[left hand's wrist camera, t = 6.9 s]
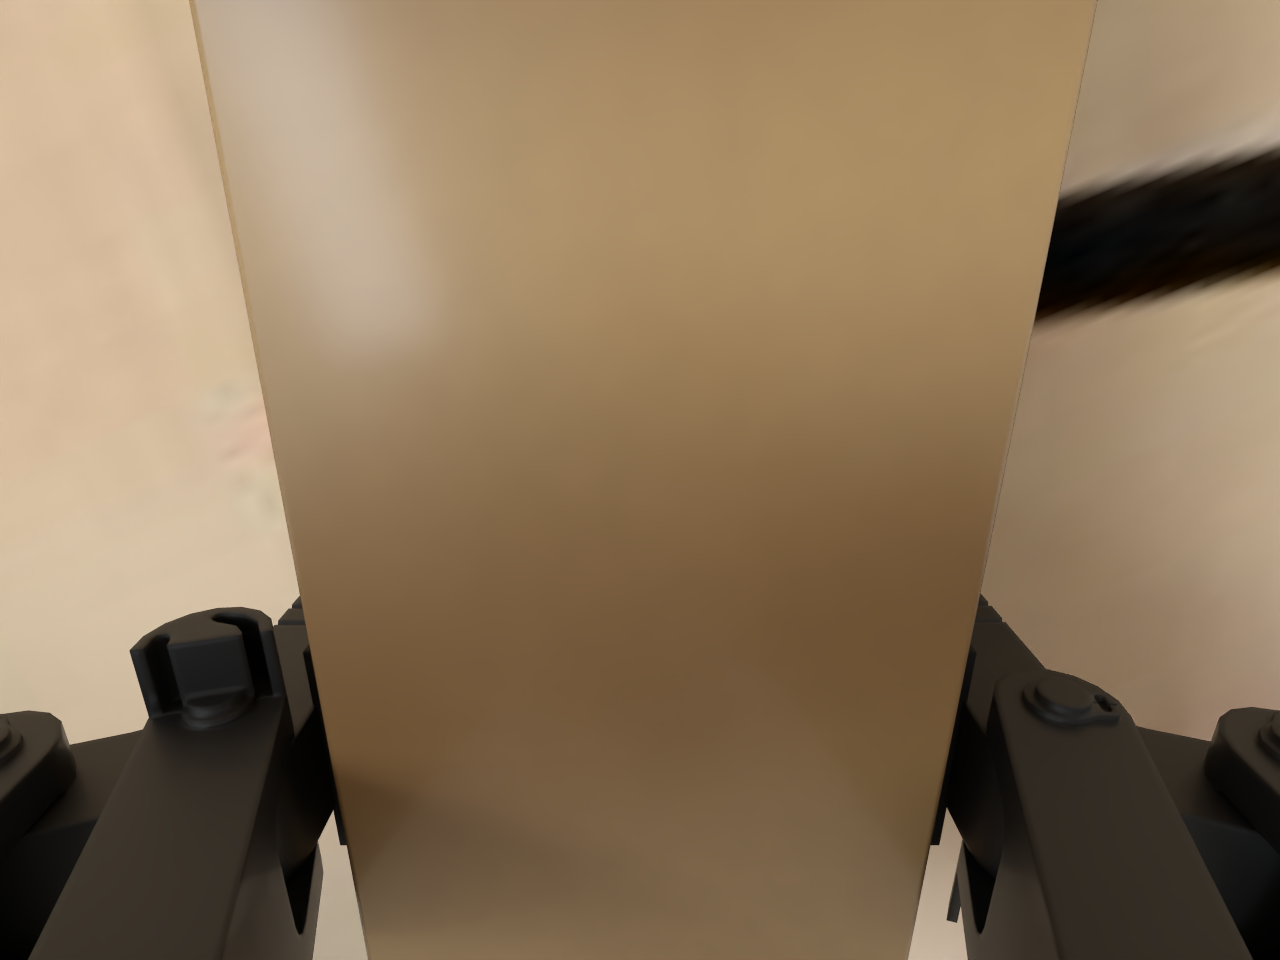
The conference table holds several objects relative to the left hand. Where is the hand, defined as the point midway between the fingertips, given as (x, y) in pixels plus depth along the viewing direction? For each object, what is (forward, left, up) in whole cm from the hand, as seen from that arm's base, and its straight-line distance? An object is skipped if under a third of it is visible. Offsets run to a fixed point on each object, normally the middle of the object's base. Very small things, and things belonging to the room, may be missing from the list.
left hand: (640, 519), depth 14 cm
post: (+17, +7, -1) cm, 18 cm away
